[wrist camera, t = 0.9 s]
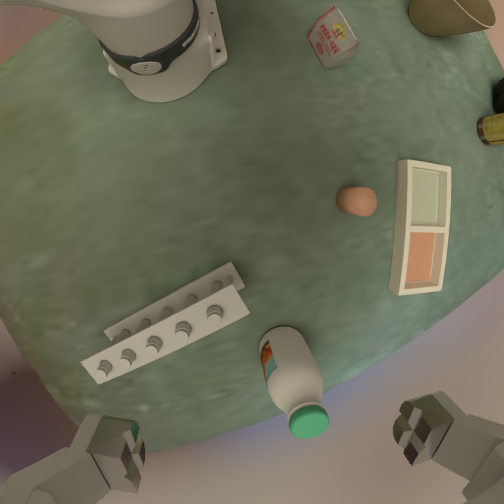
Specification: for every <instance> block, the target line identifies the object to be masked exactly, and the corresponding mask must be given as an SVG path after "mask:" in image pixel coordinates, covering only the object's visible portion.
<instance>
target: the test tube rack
mask: <svg viewBox="0 0 504 504" xmlns="http://www.w3.org/2000/svg"><path fill="white" fill-rule="evenodd" d="M244 287H245V284H244V282H243V281H242V279H241V277H240V275H239V274H238V272H237V270H236V268H235V267H234V265H233V263H232V261H229V262H228V263H226V264H224V265H222V266H220V267H218V268H216V269H215V270H213V271H211V272H209V273H207V274H205V275H204V276H202V277H200V278H198V279H196V280H194V281H192V282H191V283H189V284H187V285H185V286H183V287H181V288H180V289H178V290H176V291H174V292H172V293H170V294H169V295H167V296H165V297H163V298H161V299H159V300H157V301H156V302H154V303H152V304H150V305H148V306H146V307H145V308H143V309H141V310H139V311H137V312H135V313H134V314H132V315H130V316H128V317H126V318H124V319H123V320H121V321H119V322H117V323H115V324H113V325H111V326H110V327H108V328H106V329H105V330H104V332H105V334H106V335H107V337H108V338H109V339H110V341H111V343H110V345H109V346H108V348H106V349H104V350H102V351H100V352H98V353H96V354H94V355H92V356H90V357H88V358H86V359H84V360H82V361H81V363H82V364H83V366H84V367H85V368H86V370H87V371H88V372H89V373H90V375H91V376H92V377H93V378H94V380H95V381H96V382H97V383H98V384H101V383H103V382H106V381H108V380H111V379H113V378H115V377H118V376H120V375H122V374H125V373H127V372H129V371H131V370H134V369H136V368H138V367H140V366H143V365H145V364H147V363H149V362H151V361H154V360H156V359H158V358H160V357H162V356H165V355H167V354H169V353H171V352H173V351H175V350H177V349H180V348H182V347H184V346H186V345H188V344H190V343H192V342H194V341H196V340H198V339H200V338H202V337H205V336H207V335H209V334H211V333H213V332H215V331H217V330H219V329H221V328H223V327H225V326H227V325H229V324H231V323H233V322H235V321H237V320H239V319H241V318H242V317H244V316H246V315H248V314H250V312H249V310H248V308H247V307H246V305H245V303H244V302H243V300H242V298H241V297H240V295H239V293H238V292H237V291H238V290H240V289H242V288H244ZM207 310H208V313H207ZM222 311H223V315H222ZM177 324H178V325H177ZM176 326H177V328H176ZM190 331H191V332H190ZM148 339H149V340H148ZM161 345H162V346H161ZM123 351H124V352H123ZM135 357H136V358H135ZM112 367H113V368H112Z"/></svg>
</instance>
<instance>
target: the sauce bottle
mask: <svg viewBox="0 0 504 504" xmlns="http://www.w3.org/2000/svg"><path fill="white" fill-rule="evenodd" d="M477 129H478V135H479V137H480V139H481V140H482V142H483V143H484V144H486V145H503V144H504V113H500V114H495V115H491V116H486V117H483V118H481V119H480V120H479V121H478V124H477Z"/></svg>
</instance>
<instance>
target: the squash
mask: <svg viewBox="0 0 504 504" xmlns="http://www.w3.org/2000/svg"><path fill="white" fill-rule="evenodd" d="M494 97H495V100H496V103H495V109H496V111H497V112H498V113H499V114H500V113H504V78H502V80H500V81H499V83H498V84H497V86H496V88H495V91H494Z"/></svg>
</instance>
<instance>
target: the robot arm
mask: <svg viewBox="0 0 504 504" xmlns="http://www.w3.org/2000/svg"><path fill="white" fill-rule="evenodd" d="M3 6H29V7H36V8H42V9H47V10H52V11H56V12H60V13H62V14H65V15H68V16H71V17H73V18H75V19H77V20H79V21H80V22H82V23H83V24H84V25H85V26H86V27H87V28H88V29H90V30H91V31H92V32H93V33H94V34H95V35H96V36H97V37H98V39H99V42H100V45H101V47H102V48H103V54H104V56H105V57H106V59H107V60H108V62H109V63H110V64H109V67H108V70H109V72H110V73H111V74H112V75H113V76H115V77H116V78H119V79H121V80H122V81H123V82H124V84H125V85H126V87H127V88H128V90H129V91H130V92H131V93H132V94H133V95H135V96H136V97H138V98H140V99H142V100H145V101H149V102H168V101H173V100H176V99H179V98H181V97H184V96H186V95H188V94H189V93H191V92H192V91H194V90H195V89H196V88H197V87H199V86H200V85H201V84H202V82H203V81H204V80H205V79H206V77H207V76H208V75H209V74H210V73H211V72H212V71H214V70H215V69H217V68H219V67H221V66H222V65H224V64H225V63H226V62H227V60H228V56H227V51H226V47H225V42H224V37H223V33H222V29H221V24H220V20H219V15H218V11H217V6H216V2H215V0H0V7H3ZM217 50H220V51H221V52H220V53H217V52H216V51H217ZM400 413H401V415H400V416H399V417H398V418H397V419H396V420H395V423H394V426H393V435H394V439H395V441H396V442H397V444H398V445H400V446H402V447H404V452H403V453H404V455H405V457H406V458H407V460H408V461H409V463H410V464H411V466H413V465H416V464H419V463H422V462H424V461H427V460H430V459H432V460H433V461H434V462H436V463H438V464H440V465H442V466H443V467H445V468H447V469H449V470H451V471H452V472H454V473H456V474H458V475H460V476H462V477H464V478H466V479H467V480H469V481H470V482H469V483H468V484H467V486H466V487H465V488H464V489H463V492H462V493H463V495H464V496H465V498H466V499H467V502H465V503H464V504H504V425H503V424H499V423H496V422H492V421H489V420H486V419H483V418H480V417H477V416H474V415H471V414H469V415H466V414H465V413H464V412H463V411H462V410H461V409H460V408H459V407H458V406H457V405H456V404H455V403H454V402H453V401H452V400H451V399H450V398H449V397H448V396H447V395H446V394H445V393H444V392H443V391H437V392H433V393H430V394H428V395H424V396H421V397H417V398H414V399H411V400H407V401H404V403H403V404H402V405H401V407H400ZM139 430H140V428H139V425H138V423H137V421H135V420H129V419H122V418H116V417H111V416H105V415H98V414H94V413H89V414H87V415H86V416H85V418H84V420H83V422H82V424H81V426H80V428H79V430H78V432H77V434H76V436H75V438H74V440H73V442H72V444H71V446H70V448H67V447H64V448H63V449H61V450H59V451H57V452H55V453H54V454H52V455H50V456H48V457H46V458H45V459H42V460H40V461H39V462H37V463H35V464H33V465H31V466H29V467H27V468H25V469H23V470H21V471H19V472H17V473H15V474H13V475H11V476H10V477H9V479H8V481H7V483H6V484H5V486H4V488H3V490H2V492H1V494H0V504H96V503H97V502H98V501H99V500H100V499H102V498H103V497H104V496H105V495H106V494H107V493H108V492H109V491H110V490H111V489H115V490H120V491H126V492H133V493H138V489H139V485H140V480H141V475H140V473H139V471H138V470H139V469H141V468H142V467H143V466H144V462H145V444H144V441H143V439H142V438H141V437H140V436H139V435H138V434H139Z"/></svg>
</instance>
